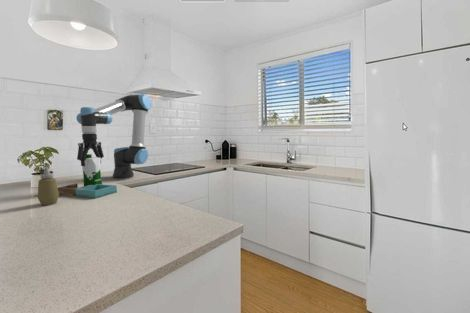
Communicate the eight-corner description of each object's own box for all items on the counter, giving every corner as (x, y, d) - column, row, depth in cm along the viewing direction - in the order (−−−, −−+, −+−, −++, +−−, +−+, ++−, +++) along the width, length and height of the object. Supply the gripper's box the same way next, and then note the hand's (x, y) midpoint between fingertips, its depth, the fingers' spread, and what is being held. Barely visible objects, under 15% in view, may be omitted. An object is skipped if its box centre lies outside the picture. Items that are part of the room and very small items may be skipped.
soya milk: (92, 184, 151) (90, 153, 149) (104, 185, 150) (102, 154, 147) (81, 188, 143) (78, 155, 141) (94, 188, 141) (91, 155, 139)
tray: (98, 190, 141) (97, 183, 141) (116, 192, 137) (116, 185, 136) (76, 196, 128) (75, 189, 128) (95, 198, 123) (95, 191, 123)
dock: (76, 190, 143) (76, 183, 142) (92, 191, 139) (91, 184, 138) (57, 194, 132) (56, 187, 132) (73, 196, 128) (73, 189, 128)
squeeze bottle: (58, 200, 120) (55, 165, 119) (60, 203, 115) (58, 166, 113) (37, 203, 115) (34, 167, 113) (39, 207, 109) (36, 168, 107)
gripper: (99, 133, 154) (102, 167, 157) (67, 133, 134) (70, 172, 136) (108, 133, 152) (111, 167, 154) (76, 133, 132) (80, 173, 134)
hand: (92, 170), depth 145 cm, fingers closed on soya milk, 9 cm apart
